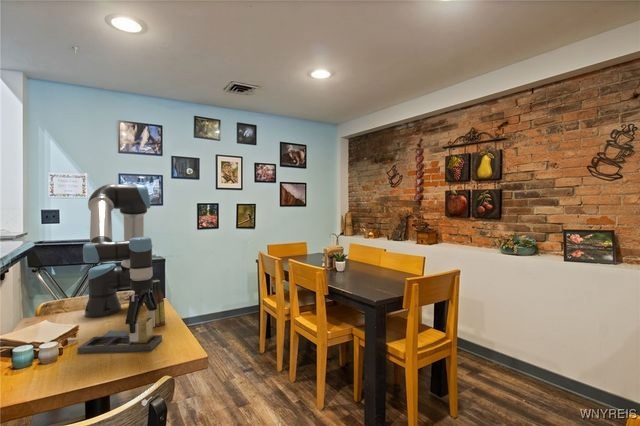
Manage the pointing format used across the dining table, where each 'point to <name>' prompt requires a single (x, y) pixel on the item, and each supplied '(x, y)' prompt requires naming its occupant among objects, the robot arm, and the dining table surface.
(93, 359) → the dining table surface
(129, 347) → the grey slotted tray
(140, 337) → the tan block
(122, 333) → the tile
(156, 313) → the sauce bottle
